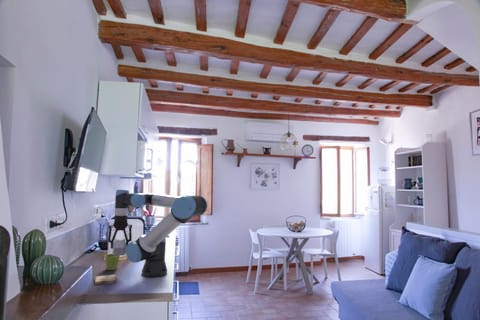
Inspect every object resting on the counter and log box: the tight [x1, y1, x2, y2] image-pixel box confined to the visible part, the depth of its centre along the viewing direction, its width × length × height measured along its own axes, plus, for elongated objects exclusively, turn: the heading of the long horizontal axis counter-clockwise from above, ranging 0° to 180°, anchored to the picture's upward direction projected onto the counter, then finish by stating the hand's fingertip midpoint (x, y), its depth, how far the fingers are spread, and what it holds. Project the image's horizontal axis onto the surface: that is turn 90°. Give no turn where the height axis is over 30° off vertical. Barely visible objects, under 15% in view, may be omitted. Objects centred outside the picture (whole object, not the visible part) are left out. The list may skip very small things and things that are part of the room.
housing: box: [113, 237, 126, 256], centre depth 194 cm, size 6×7×9 cm
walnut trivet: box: [94, 274, 117, 286], centre depth 181 cm, size 11×11×2 cm
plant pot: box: [104, 253, 121, 271], centre depth 205 cm, size 9×9×9 cm
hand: (119, 253), depth 194 cm, fingers closed on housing, 6 cm apart
